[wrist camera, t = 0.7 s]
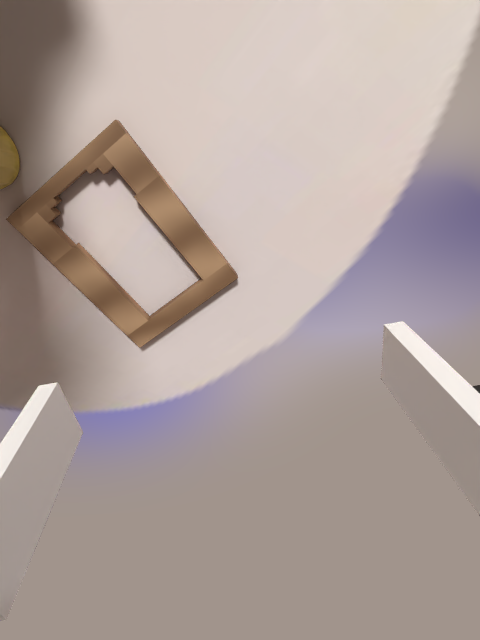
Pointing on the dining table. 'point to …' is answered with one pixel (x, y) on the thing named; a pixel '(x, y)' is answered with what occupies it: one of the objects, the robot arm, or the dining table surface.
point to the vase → (8, 160)
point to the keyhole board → (160, 205)
